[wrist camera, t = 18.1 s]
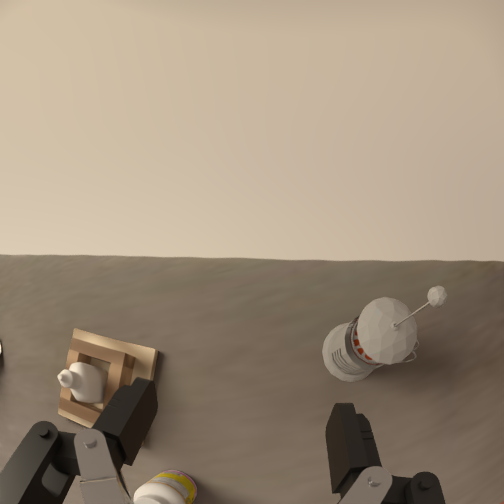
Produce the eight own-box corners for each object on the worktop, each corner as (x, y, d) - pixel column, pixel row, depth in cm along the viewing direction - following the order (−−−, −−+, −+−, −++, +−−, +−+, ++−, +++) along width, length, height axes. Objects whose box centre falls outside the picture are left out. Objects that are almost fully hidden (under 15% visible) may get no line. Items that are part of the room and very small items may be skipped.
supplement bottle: (176, 510, 28) (151, 542, 17) (147, 481, 30) (111, 503, 19) (207, 491, 30) (190, 522, 19) (177, 461, 33) (148, 481, 21)
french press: (334, 313, 44) (403, 225, 23) (395, 337, 42) (494, 272, 20) (312, 369, 40) (380, 327, 18) (377, 392, 38) (487, 368, 16)
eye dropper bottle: (88, 397, 35) (43, 389, 25) (96, 366, 38) (53, 350, 28) (110, 407, 35) (67, 404, 25) (118, 375, 38) (77, 362, 27)
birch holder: (143, 445, 34) (129, 449, 29) (62, 413, 34) (44, 412, 30) (158, 350, 41) (146, 343, 37) (78, 330, 42) (62, 321, 38)
